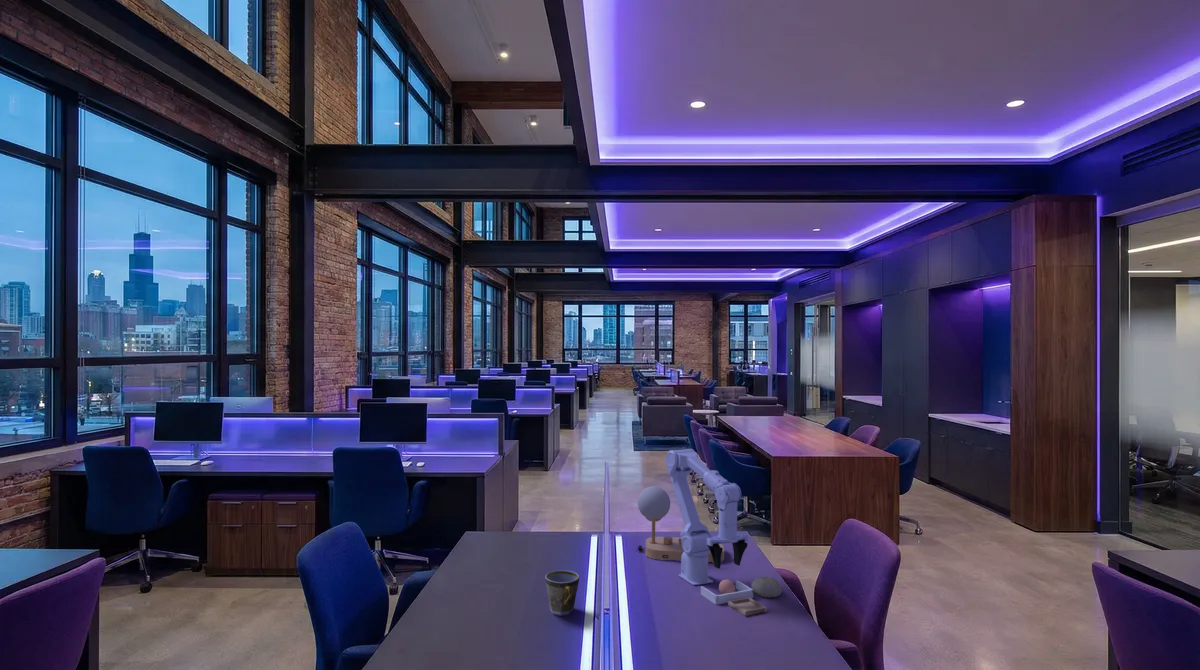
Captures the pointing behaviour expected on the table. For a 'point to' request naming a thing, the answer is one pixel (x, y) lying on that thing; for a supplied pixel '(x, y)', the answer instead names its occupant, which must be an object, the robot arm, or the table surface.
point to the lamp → (654, 509)
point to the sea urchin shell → (766, 587)
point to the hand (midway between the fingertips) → (727, 565)
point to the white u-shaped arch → (729, 594)
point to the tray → (747, 606)
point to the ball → (726, 587)
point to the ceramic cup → (562, 591)
